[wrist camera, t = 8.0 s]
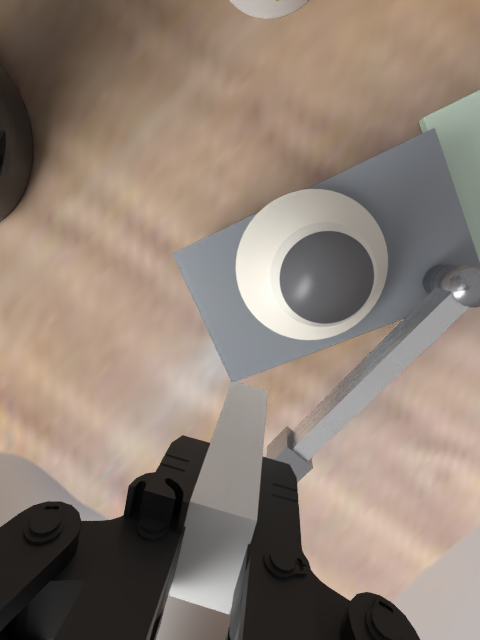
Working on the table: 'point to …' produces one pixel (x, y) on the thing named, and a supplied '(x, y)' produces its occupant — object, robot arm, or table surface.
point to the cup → (268, 7)
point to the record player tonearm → (381, 364)
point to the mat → (461, 154)
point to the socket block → (400, 237)
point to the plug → (311, 264)
